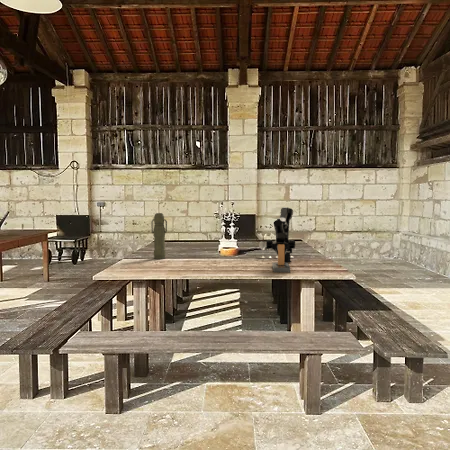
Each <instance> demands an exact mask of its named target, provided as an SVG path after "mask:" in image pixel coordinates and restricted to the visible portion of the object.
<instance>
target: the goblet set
mask: <svg viewBox="0 0 450 450" xmlns="http://www.w3.org/2000/svg"><path fill="white" fill-rule="evenodd" d="M274 242H276V239H275V240H274ZM258 247H259V248H260V249H261V253H262V256H260V257H259V258H261V259H262V258H263V259H264V258H266V256H264V251H265V249H267V248H266V241H260V242H259V243H258ZM277 249H278V246H277ZM268 250H269V252H271V249H268ZM293 250H294V249H292V251H293ZM292 254H293V252H292V253H291V254H290V258H293V255H292ZM268 258H270V259H271V258H273V256H267V259H268ZM275 258H276V259H278V256H275Z"/></svg>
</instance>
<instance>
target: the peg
mask: <svg viewBox="0 0 450 450" xmlns="http://www.w3.org/2000/svg"><path fill="white" fill-rule="evenodd" d="M284 247H285V245H284V244H278V255H277V257H278V258H277V262H278V265H284V263H285V262H284Z"/></svg>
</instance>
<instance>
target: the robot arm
mask: <svg viewBox="0 0 450 450" xmlns="http://www.w3.org/2000/svg"><path fill="white" fill-rule="evenodd" d="M293 215H294V209H292V208H291V207H288V206H287V207H284V206H283V207H281V208H280V216H279V218H277V219H276V220H274V221H273V227H274V231H275V240H276V242H275V241H273V240H270V239H269V240H265V242H266V248H265V249H268V250H269V249H270V250H273V251H274V252H275V253H276V256H278V249H277V246H278V244H284V245H285V247H284V263H288V262H292V260H291V253H292V254H293V250H294V249H295V248H296V240H293V239H292V240H290V239H289V238H290V224H291V223H290V222H291V220H292V218H293ZM292 249H293V250H292Z"/></svg>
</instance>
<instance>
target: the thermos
mask: <svg viewBox="0 0 450 450" xmlns="http://www.w3.org/2000/svg"><path fill="white" fill-rule="evenodd" d="M153 221H154V223H153ZM150 223H151V233H152V234H153V239H154V240H153V241H154V243H153V244H154V250H153V259H154V260H165V259H166V249H165V248H166V246H165V244H166V243H165V242H166V241H165V237H166V234H167V232H168V221H167V219H165V216H164V213H162V212H161V213H160V212H158V213H157V212H156V213H155V214H154V217H153V219H151V221H150Z"/></svg>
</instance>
